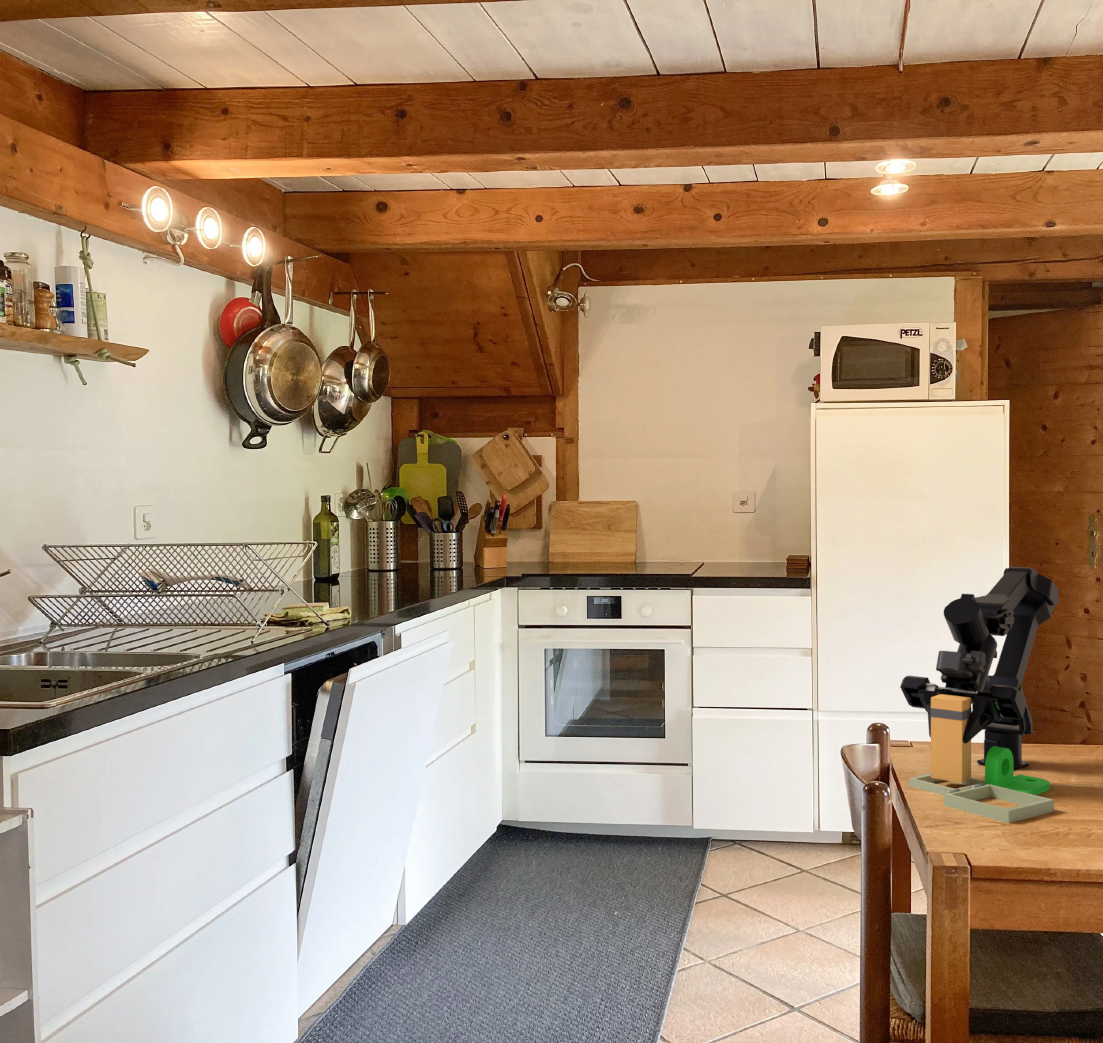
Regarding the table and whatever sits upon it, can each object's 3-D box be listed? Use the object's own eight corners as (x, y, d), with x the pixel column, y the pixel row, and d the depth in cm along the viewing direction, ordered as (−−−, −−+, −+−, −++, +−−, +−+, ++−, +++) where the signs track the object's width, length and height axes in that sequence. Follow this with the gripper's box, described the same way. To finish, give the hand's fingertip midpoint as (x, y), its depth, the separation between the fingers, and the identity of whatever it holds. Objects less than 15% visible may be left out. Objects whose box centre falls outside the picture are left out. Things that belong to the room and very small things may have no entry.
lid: (944, 783, 180) (944, 771, 180) (992, 795, 173) (992, 782, 172) (908, 790, 175) (908, 778, 175) (956, 803, 168) (956, 790, 168)
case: (985, 799, 170) (985, 781, 170) (1053, 816, 160) (1053, 798, 160) (940, 809, 164) (940, 791, 164) (1008, 828, 154) (1008, 809, 154)
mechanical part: (1022, 807, 166) (1022, 755, 166) (984, 799, 171) (985, 749, 171) (1056, 793, 174) (1056, 744, 174) (1019, 786, 179) (1019, 738, 179)
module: (940, 773, 177) (940, 694, 177) (971, 778, 174) (971, 697, 174) (930, 777, 174) (930, 697, 174) (961, 783, 171) (962, 701, 171)
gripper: (904, 627, 183) (876, 702, 175) (1019, 636, 170) (994, 717, 162) (923, 668, 189) (897, 742, 181) (1035, 679, 176) (1012, 759, 168)
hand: (947, 739), depth 173 cm, fingers closed on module, 5 cm apart
